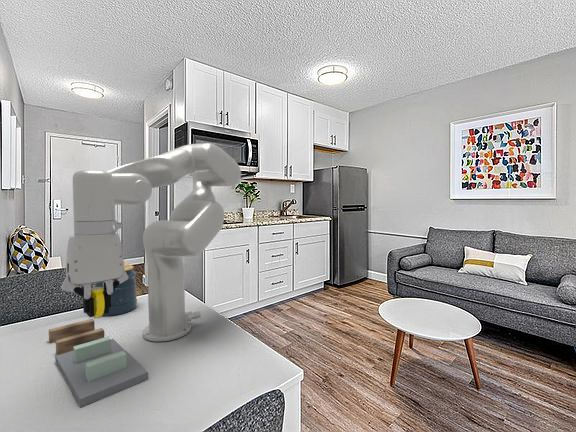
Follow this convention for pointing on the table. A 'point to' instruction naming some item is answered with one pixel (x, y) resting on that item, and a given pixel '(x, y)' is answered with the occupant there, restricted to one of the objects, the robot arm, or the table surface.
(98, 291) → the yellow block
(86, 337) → the holder
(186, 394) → the table surface
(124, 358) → the dock
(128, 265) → the canister
